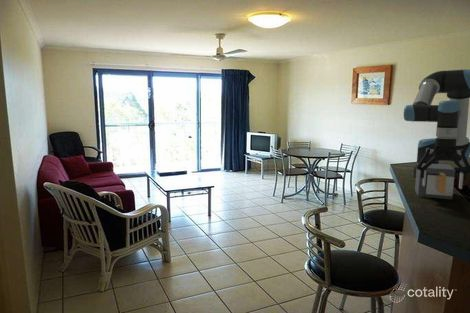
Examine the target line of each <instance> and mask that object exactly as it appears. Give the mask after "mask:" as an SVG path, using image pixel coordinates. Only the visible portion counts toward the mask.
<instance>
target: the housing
mask: <svg viewBox="0 0 470 313" xmlns="http://www.w3.org/2000/svg"><path fill="white" fill-rule="evenodd" d="M416 164H417V165H418V163H417V162H416ZM425 164H426V163H423V165H422V166H421V167H423V166H424V165H425ZM439 172H441V173H444V174H446V175H447V176H448V177H454V178H455V176H456V175H455V174H456V169H455V168H454V167H453V166H451V165H450V164H443V163H439V164H431V165H430V166H429V167H428V168H427V169H426V174H427V173H430V174H439ZM420 174H421V170H419V169H417V170H416V177H415V186H414V191H415V192H416V195H417V197H418V198H419V197H420V198H432V199H445V200H453V196H454V195H453V196H443V195H431V194H426V182H425V186H423V185H422V183H423V178H421V177H420ZM454 186H455V184H454V185H453V188H454Z"/></svg>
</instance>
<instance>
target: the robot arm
mask: <svg viewBox="0 0 470 313" xmlns="http://www.w3.org/2000/svg"><path fill="white" fill-rule="evenodd" d="M437 94H446V97H447V98H448V99H449V100H440V101H439V102H438V104H432V103H433V100H434V98H435V96H436V95H437ZM469 107H470V69H466V68H465V69H451V70H448V69H447V70H438V71H435V72H433V73H430V74H428V76H425V77H424V78H423V79H422V80H421V82H420V83H419V85H418V92H417V94H416V96H415V98H414V101H413V102H412V104H407V105H405V106H404V110H403V119H404V121H405V122H413V123H414V122H418V123H419V122H420V123H421V122H424V123H425V122H426V123H427V122H429V123H431V122H432V123H436V129H435V130H436V131H435V137H433V138H423V139H419V140H418V144H417V154H416V163H415V166H414V168H413V171H412V176H413V177H414V178H416V170H417V169H419V170H421V174H420V177H421V178H423V183H422V185H423V186H425V182H426V169H427V168H428V167H429V166H430V165H431V164H440V161H442V162H453V163H454V164H455V165H456V166H457V168H459V170H460V171H461V172H459V179H458V189H460V190H462V189H463V185H464V184H463V182H465V181H467V174H468V173H470V163H469V158H470V138H468V137H467V134H468V133H467V132H468V121H469V120H468V119H469V109H470V108H469ZM417 163H418V165H417ZM423 163H426V164H425V165H424V166H423V167H421V166H422V165H423ZM461 163H463V164H464V166H465V168H466V169H465V168H464V167H463V165H462V164H461Z"/></svg>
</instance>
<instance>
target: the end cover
mask: <svg viewBox="0 0 470 313" xmlns="http://www.w3.org/2000/svg"><path fill="white" fill-rule="evenodd" d="M453 185H454V186H455V177H448V176H447V175H446V174H444V173H441V172H439V174H430V173H427V174H426V194H431V195H443V196H454V187H453Z"/></svg>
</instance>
